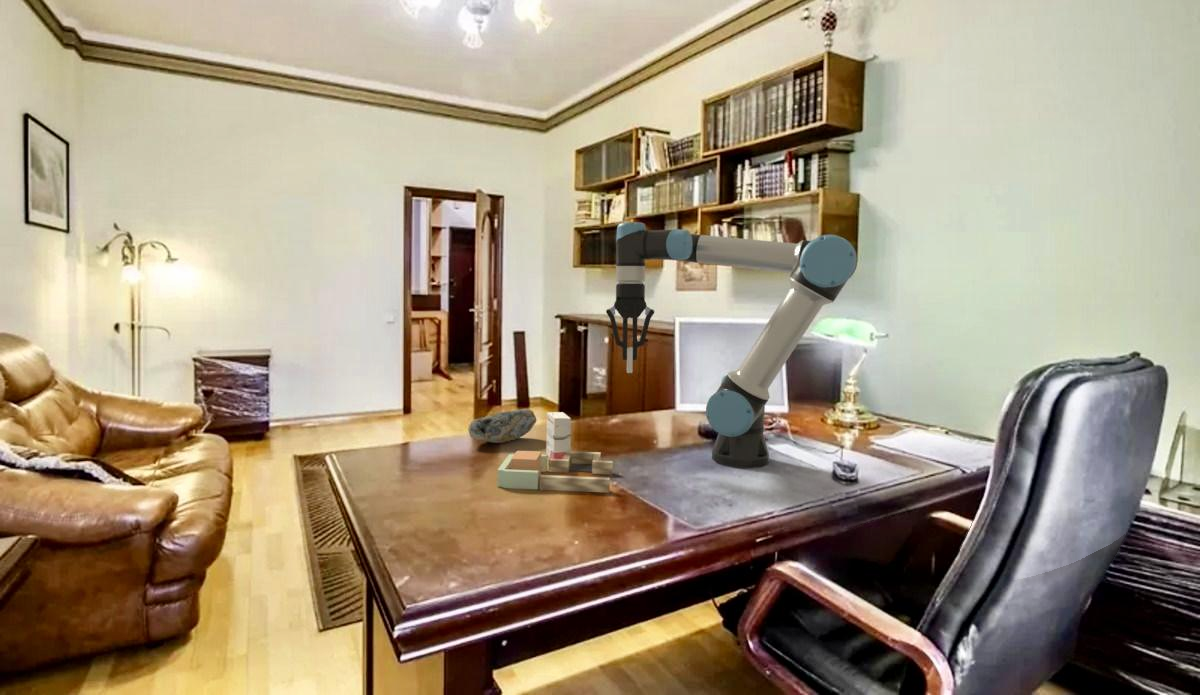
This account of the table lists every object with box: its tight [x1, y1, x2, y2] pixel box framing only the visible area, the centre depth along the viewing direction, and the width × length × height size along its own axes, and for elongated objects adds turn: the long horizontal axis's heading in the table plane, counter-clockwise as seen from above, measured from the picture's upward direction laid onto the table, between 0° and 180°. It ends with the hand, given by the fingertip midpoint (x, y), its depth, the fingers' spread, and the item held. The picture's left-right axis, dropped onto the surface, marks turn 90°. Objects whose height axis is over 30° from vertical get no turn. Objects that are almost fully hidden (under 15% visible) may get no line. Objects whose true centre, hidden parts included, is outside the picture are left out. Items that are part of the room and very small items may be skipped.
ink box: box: [545, 411, 572, 459], centre depth 175 cm, size 9×5×12 cm, turn 18°
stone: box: [468, 408, 537, 444], centre depth 189 cm, size 11×21×10 cm, turn 119°
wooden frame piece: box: [539, 450, 614, 494], centre depth 160 cm, size 16×22×3 cm
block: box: [511, 450, 542, 479], centre depth 156 cm, size 6×7×6 cm
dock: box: [496, 453, 548, 490], centre depth 157 cm, size 10×15×4 cm, turn 176°
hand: (629, 372), depth 172 cm, fingers closed
